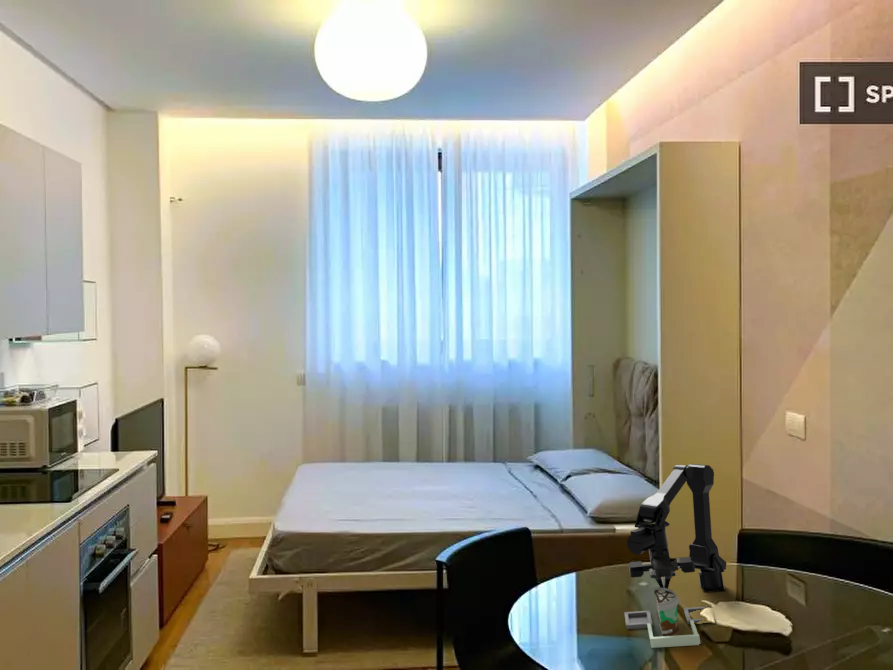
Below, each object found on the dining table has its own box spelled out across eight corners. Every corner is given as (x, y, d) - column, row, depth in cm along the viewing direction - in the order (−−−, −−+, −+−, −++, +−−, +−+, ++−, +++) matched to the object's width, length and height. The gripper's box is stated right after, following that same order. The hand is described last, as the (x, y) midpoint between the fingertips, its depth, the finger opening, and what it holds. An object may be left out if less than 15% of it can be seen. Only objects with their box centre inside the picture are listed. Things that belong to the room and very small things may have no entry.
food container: (686, 637, 209) (681, 602, 208) (663, 638, 210) (658, 603, 209) (679, 618, 221) (674, 585, 220) (657, 620, 222) (653, 587, 221)
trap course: (710, 610, 223) (709, 602, 223) (723, 643, 202) (722, 634, 202) (624, 616, 228) (623, 608, 228) (629, 649, 206) (627, 640, 206)
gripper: (627, 556, 218) (635, 608, 219) (694, 550, 215) (701, 603, 215) (625, 543, 229) (632, 593, 229) (688, 537, 226) (695, 588, 226)
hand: (665, 594), depth 225 cm, fingers closed
